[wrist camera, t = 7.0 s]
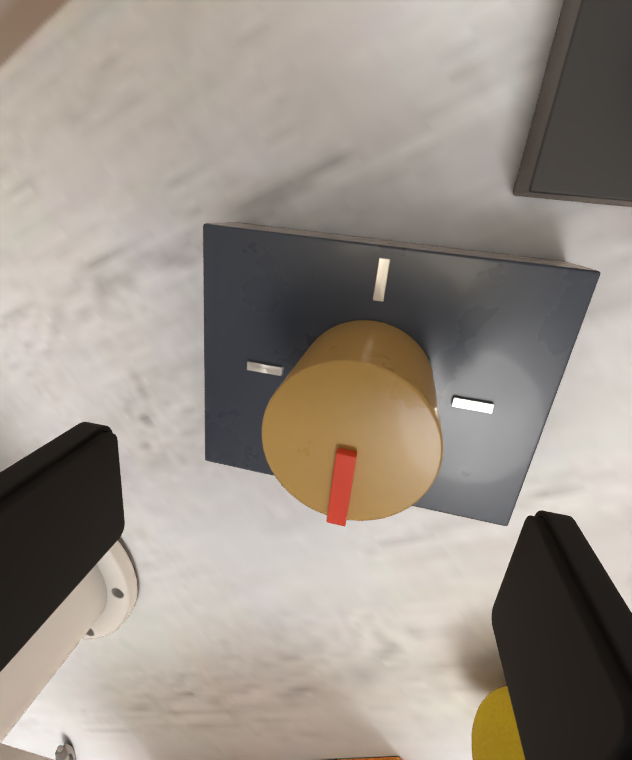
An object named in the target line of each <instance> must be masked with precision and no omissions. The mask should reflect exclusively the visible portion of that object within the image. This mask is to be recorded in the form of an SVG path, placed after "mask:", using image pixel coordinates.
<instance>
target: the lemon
mask: <svg viewBox="0 0 632 760" xmlns="http://www.w3.org/2000/svg"><path fill="white" fill-rule="evenodd" d="M472 758H473V760H525V757H524V753H523V749H522V745H521V741H520V736H519V732H518V728H517V724H516V720H515V716H514V712H513V708H512V704H511V700H510V696H509V692H508V687H507V686H505V687H502V688H499V689H496V690H495V691H493V692H491V693H490V694H489V695H488V696H487V697H486V698H485V699H484V700H483V701H482V703H481V704H480V706H479V708H478V710H477V713H476V716H475V719H474V723H473V728H472Z"/></svg>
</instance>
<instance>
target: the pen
mask: <svg viewBox="0 0 632 760" xmlns="http://www.w3.org/2000/svg"><path fill="white" fill-rule="evenodd" d="M70 754H71V755H72V758H73V760H75V754H74V750H73V748H72V746H70V745H68V744H66V743H65V744H64V746H62V745H60V746H58V748H57V750H56V753H55V755H56V760H71V757H70Z"/></svg>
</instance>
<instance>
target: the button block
mask: <svg viewBox="0 0 632 760" xmlns="http://www.w3.org/2000/svg"><path fill="white" fill-rule="evenodd" d="M513 195H515V196H524V197H534V198H545V199H555V200H565V201H576V202H586V203H596V204H607V205H617V206H627V207H632V0H564V3H563V7H562V11H561V15H560V18H559V22H558V26H557V30H556V33H555V37H554V41H553V45H552V49H551V52H550V56H549V60H548V64H547V67H546V71H545V75H544V79H543V82H542V86H541V90H540V94H539V98H538V101H537V105H536V109H535V113H534V116H533V120H532V124H531V128H530V131H529V135H528V139H527V143H526V147H525V150H524V154H523V158H522V162H521V165H520V169H519V173H518V177H517V181H516V184H515V188H514V192H513Z"/></svg>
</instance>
